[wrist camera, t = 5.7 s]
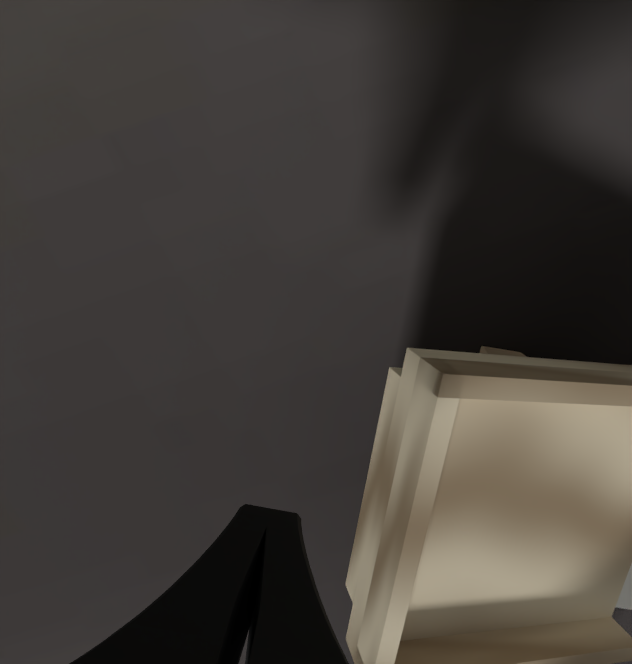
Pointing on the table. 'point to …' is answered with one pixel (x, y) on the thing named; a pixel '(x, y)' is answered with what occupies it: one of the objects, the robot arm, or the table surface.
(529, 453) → the tipping tray
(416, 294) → the table surface
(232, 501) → the table surface
